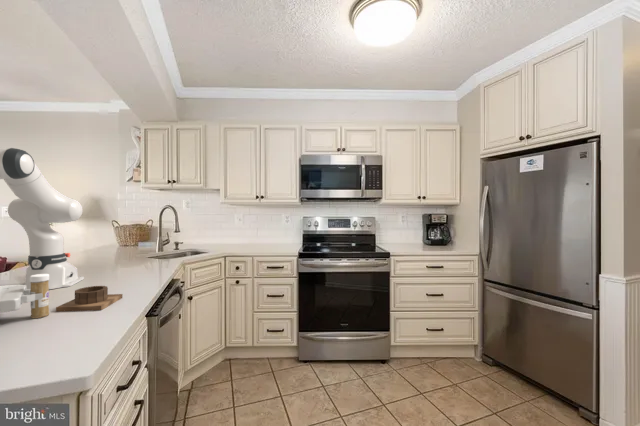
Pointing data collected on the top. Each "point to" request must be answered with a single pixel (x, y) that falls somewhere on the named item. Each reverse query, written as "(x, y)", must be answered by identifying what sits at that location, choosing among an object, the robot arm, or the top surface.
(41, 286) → the sprinkles bottle
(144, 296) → the top surface
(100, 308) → the walnut collar block
